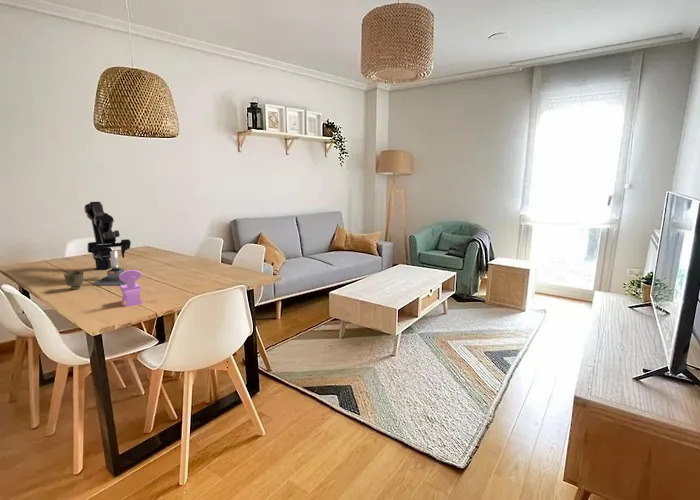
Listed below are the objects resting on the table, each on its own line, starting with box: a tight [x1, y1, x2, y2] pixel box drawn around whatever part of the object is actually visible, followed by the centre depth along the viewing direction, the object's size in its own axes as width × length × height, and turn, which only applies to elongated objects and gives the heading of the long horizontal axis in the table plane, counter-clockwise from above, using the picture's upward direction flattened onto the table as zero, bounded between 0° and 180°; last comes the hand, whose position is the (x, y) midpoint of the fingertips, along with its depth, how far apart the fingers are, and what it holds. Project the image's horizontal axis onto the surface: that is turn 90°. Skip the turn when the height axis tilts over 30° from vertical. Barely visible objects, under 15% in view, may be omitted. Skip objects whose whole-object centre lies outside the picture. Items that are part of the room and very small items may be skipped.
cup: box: [63, 270, 84, 291], centre depth 175 cm, size 8×7×8 cm
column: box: [110, 250, 120, 271], centre depth 187 cm, size 4×4×12 cm
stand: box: [93, 268, 127, 286], centre depth 189 cm, size 14×14×6 cm
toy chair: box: [119, 269, 143, 308], centre depth 158 cm, size 8×9×15 cm
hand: (113, 258), depth 190 cm, fingers open, 9 cm apart
